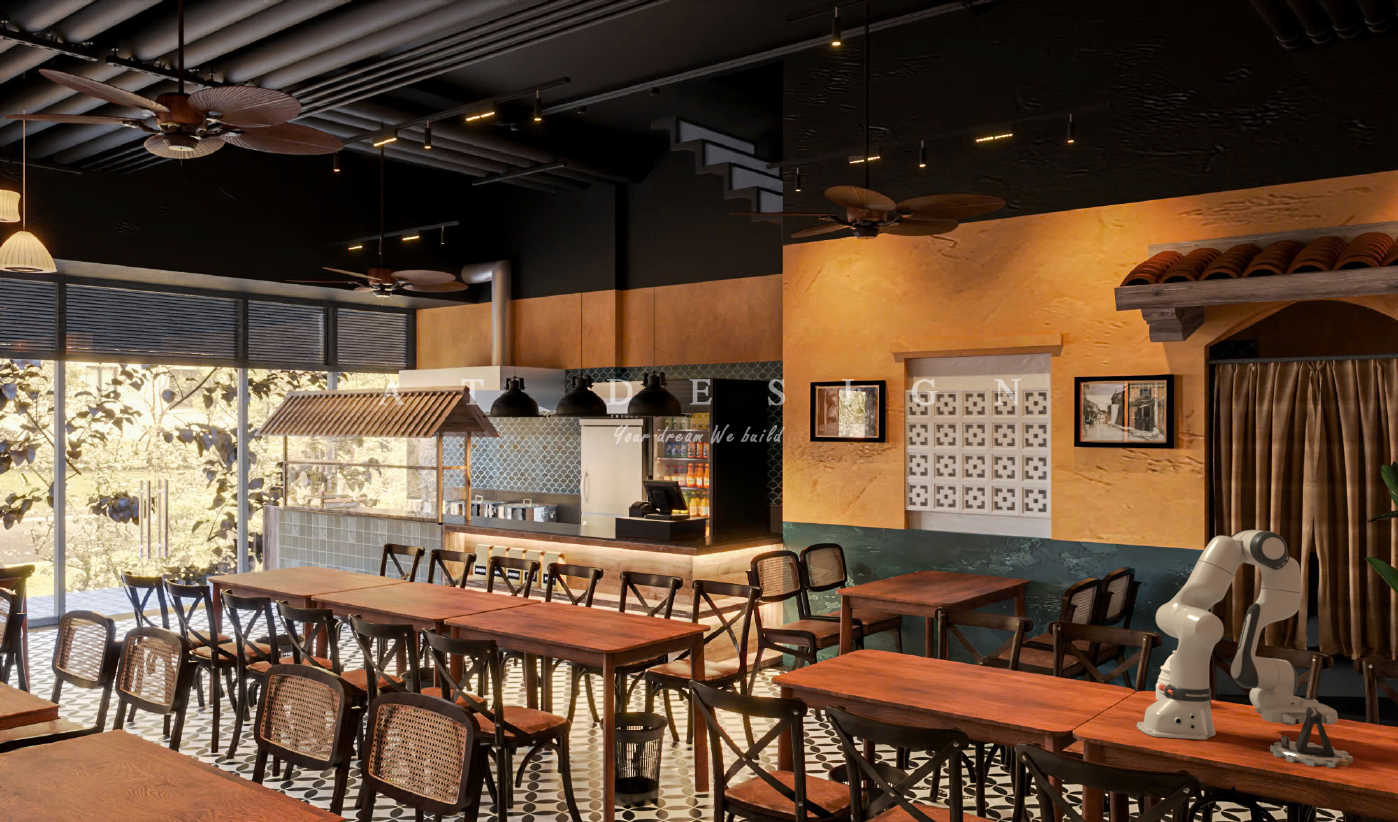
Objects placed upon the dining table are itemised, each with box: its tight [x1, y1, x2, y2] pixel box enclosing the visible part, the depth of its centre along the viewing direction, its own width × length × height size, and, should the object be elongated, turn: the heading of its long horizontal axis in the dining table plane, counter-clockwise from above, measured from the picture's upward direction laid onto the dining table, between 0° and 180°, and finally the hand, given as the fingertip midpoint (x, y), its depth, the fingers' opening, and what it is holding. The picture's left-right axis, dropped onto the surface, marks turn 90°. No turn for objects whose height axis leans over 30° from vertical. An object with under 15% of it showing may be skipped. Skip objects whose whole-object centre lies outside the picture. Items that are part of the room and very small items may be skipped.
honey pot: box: [1155, 650, 1177, 700], centre depth 355 cm, size 13×13×18 cm
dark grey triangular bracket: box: [1295, 707, 1335, 756], centre depth 291 cm, size 9×6×12 cm, turn 67°
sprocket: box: [1269, 735, 1354, 768], centre depth 292 cm, size 20×20×4 cm
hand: (1313, 721), depth 294 cm, fingers open, 8 cm apart
